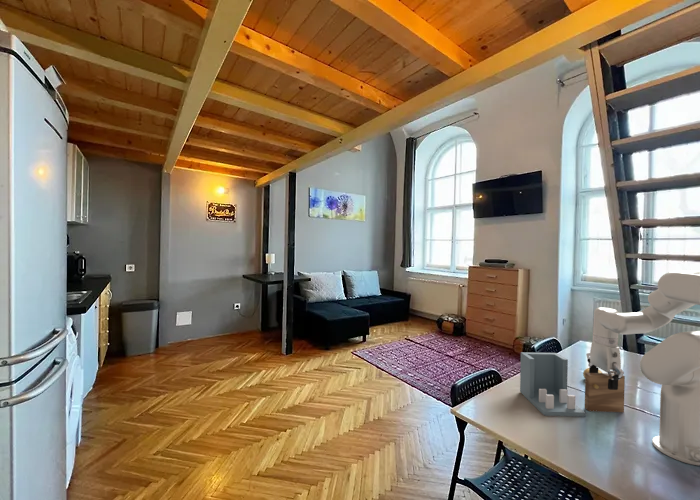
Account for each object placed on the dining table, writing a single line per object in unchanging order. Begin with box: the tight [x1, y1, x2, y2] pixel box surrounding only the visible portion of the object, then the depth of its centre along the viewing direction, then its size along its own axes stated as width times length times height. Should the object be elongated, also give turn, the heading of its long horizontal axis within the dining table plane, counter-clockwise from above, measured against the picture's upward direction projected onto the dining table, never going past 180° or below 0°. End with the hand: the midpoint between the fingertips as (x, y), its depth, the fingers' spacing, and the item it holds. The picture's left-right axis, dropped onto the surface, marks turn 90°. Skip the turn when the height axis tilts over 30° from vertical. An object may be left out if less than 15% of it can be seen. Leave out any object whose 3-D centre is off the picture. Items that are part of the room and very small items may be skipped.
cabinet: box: [519, 351, 586, 417], centre depth 125 cm, size 18×15×18 cm
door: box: [584, 372, 626, 413], centre depth 120 cm, size 3×13×14 cm, turn 87°
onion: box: [582, 367, 603, 379], centre depth 145 cm, size 8×8×7 cm
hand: (602, 383), depth 121 cm, fingers open, 9 cm apart
